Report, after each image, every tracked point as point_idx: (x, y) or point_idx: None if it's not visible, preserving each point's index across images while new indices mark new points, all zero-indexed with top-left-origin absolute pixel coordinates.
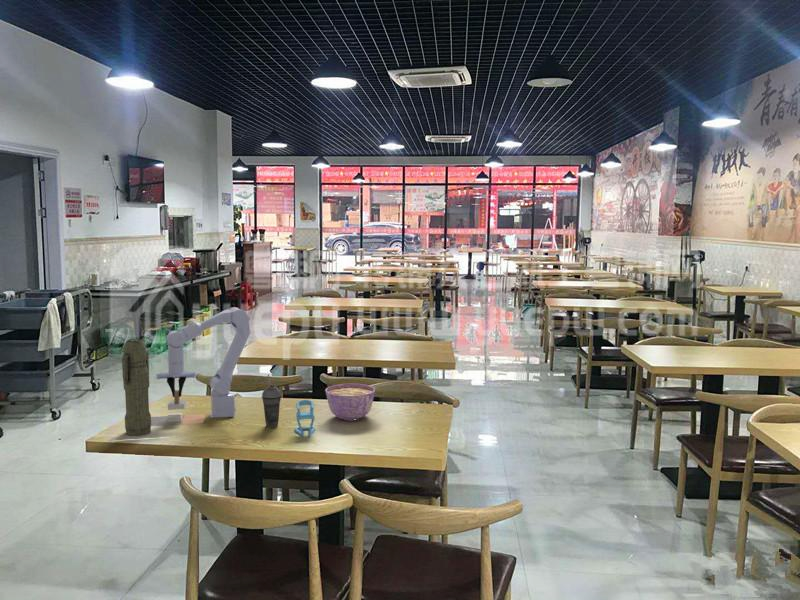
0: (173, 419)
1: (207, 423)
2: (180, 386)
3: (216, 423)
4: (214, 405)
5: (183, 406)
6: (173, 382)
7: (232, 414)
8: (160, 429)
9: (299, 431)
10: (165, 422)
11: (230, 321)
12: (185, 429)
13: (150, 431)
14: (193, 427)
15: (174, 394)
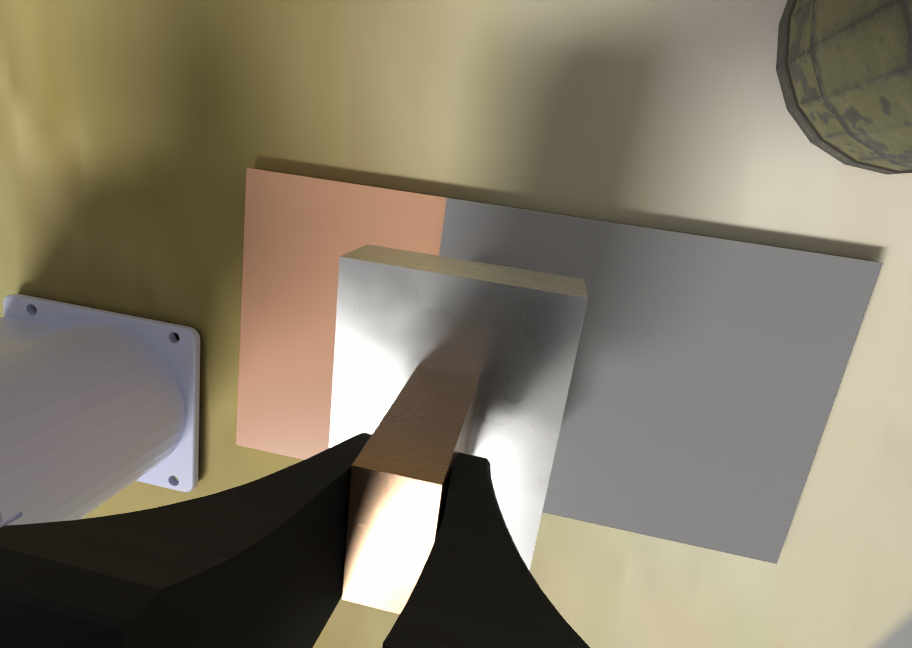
0: None
1: (216, 185)
2: (248, 508)
3: (141, 157)
4: (68, 381)
5: (363, 253)
6: None
7: (10, 319)
8: (662, 124)
9: None
10: (596, 315)
11: None
12: (413, 40)
13: (794, 2)
14: (337, 89)
15: (452, 447)
